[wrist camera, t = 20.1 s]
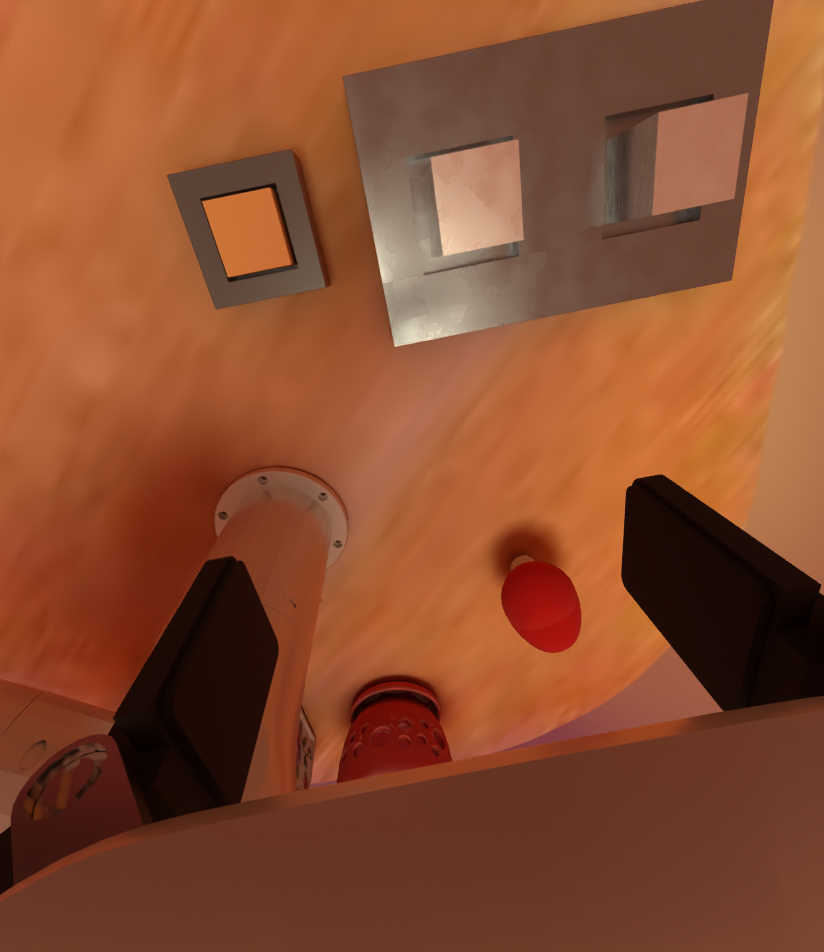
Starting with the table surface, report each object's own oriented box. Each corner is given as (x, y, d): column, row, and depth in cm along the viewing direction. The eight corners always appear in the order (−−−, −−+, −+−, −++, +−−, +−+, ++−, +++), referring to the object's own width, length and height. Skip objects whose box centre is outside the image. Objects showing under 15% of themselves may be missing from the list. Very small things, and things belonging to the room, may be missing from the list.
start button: (297, 264, 31) (291, 264, 29) (239, 276, 31) (227, 277, 29) (278, 193, 29) (269, 187, 27) (215, 206, 29) (202, 201, 27)
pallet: (708, 279, 34) (731, 280, 32) (393, 341, 35) (394, 346, 33) (743, 8, 27) (775, -15, 25) (345, 91, 28) (342, 76, 25)
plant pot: (344, 670, 52) (335, 776, 41) (450, 672, 53) (467, 774, 42) (341, 737, 57) (332, 845, 47) (436, 736, 59) (449, 841, 48)
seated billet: (499, 244, 31) (523, 239, 26) (432, 257, 31) (443, 256, 26) (492, 162, 29) (518, 139, 24) (421, 177, 29) (430, 157, 24)
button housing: (330, 285, 33) (325, 287, 30) (229, 305, 33) (215, 309, 30) (299, 160, 29) (291, 149, 26) (186, 183, 29) (166, 175, 27)
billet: (673, 210, 31) (734, 198, 26) (605, 224, 31) (652, 215, 26) (680, 125, 29) (748, 93, 23) (607, 140, 29) (658, 112, 24)
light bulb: (474, 542, 44) (498, 611, 35) (537, 514, 43) (577, 579, 34) (505, 601, 48) (533, 677, 39) (563, 577, 47) (605, 650, 38)
